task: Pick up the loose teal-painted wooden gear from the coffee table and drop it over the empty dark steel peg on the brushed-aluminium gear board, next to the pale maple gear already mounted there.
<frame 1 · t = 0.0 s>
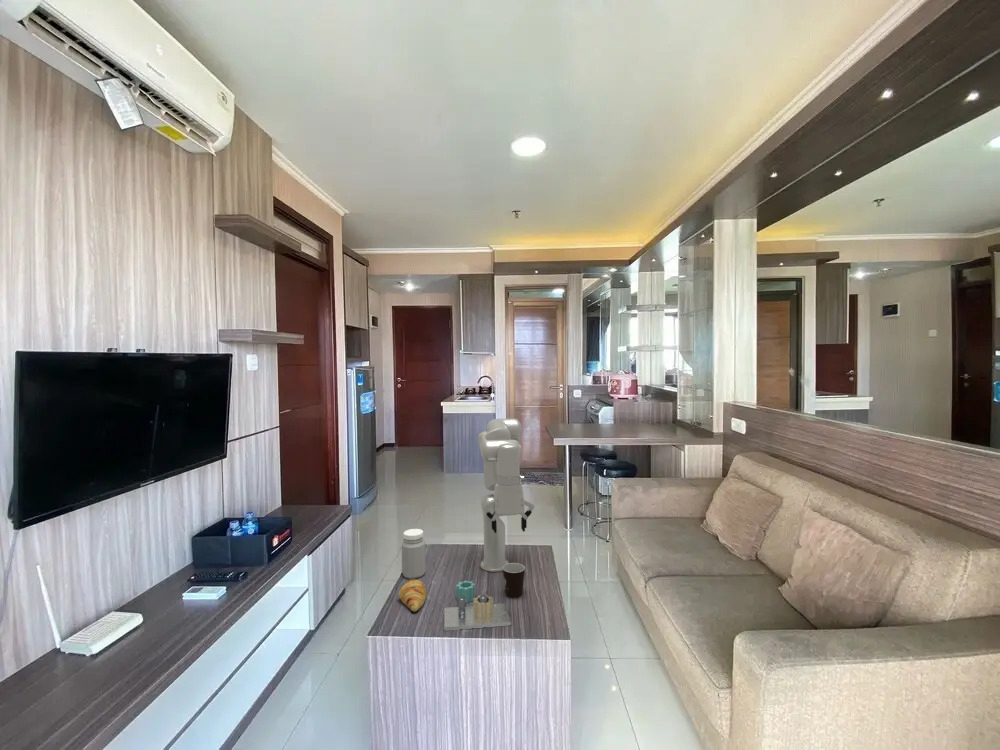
hand: (509, 530, 144), 31 cm above the table, fingers open, 9 cm apart
board: (476, 618, 147), on the table
gear: (465, 598, 161), on the table
croissant: (412, 600, 160), on the table
coffee mug: (514, 592, 165), on the table
jar: (413, 574, 181), on the table
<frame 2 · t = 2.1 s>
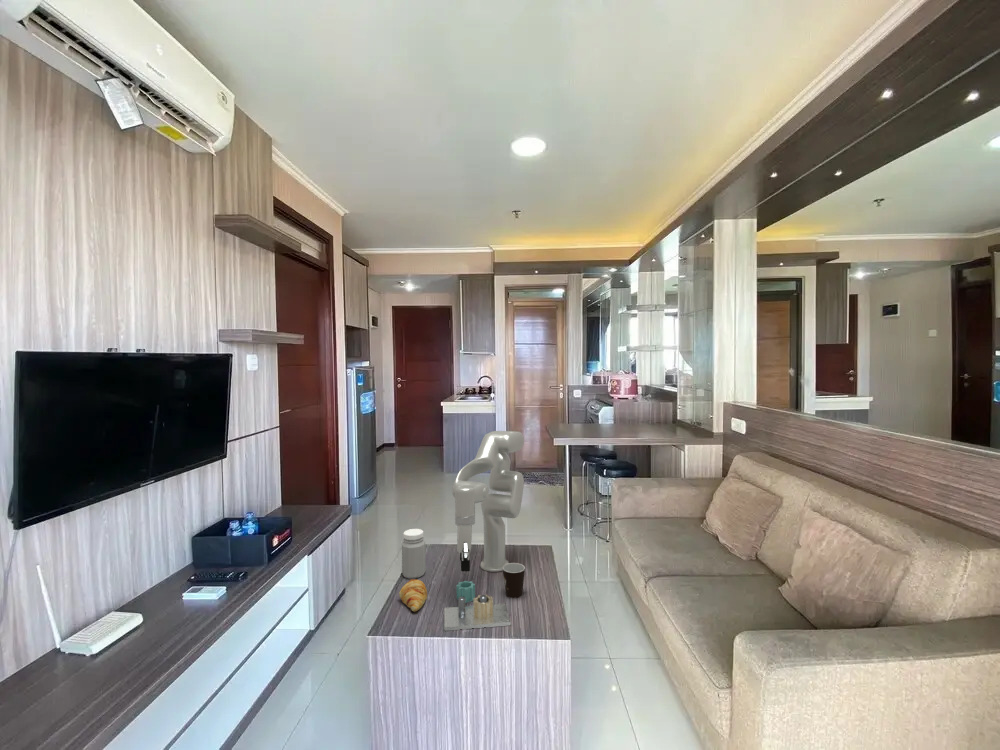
hand: (464, 565, 160), 13 cm above the table, fingers open, 9 cm apart
nothing on the table moved.
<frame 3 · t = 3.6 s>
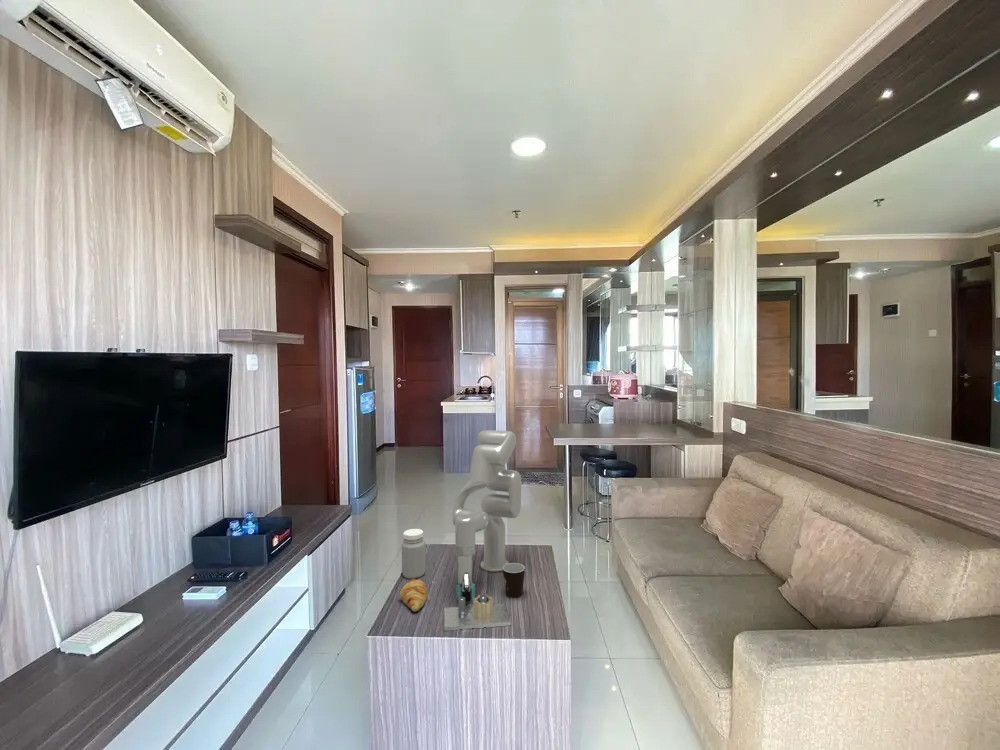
hand: (465, 596, 161), 1 cm above the table, fingers closed on gear, 6 cm apart
gear: (465, 598, 161), on the table, touching gripper
everything else where it was.
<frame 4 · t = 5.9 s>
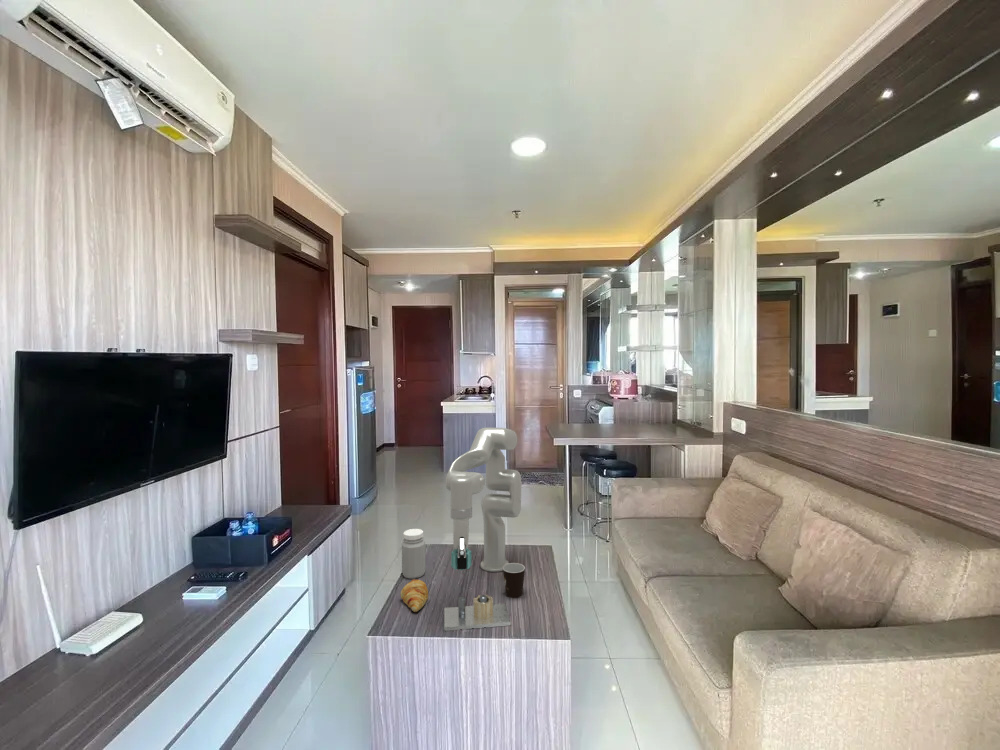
hand: (461, 563, 148), 18 cm above the table, fingers closed on gear, 6 cm apart
gear: (461, 566, 148), point 18 cm above the table, touching gripper
everything else where it was.
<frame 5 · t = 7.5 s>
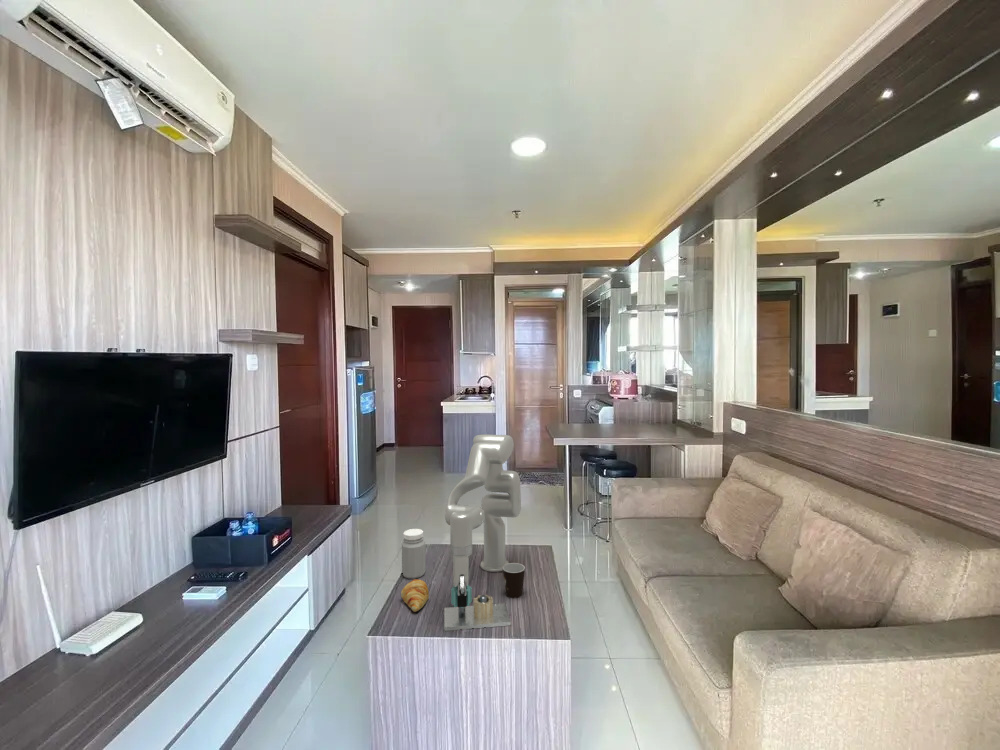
hand: (461, 600, 147), 7 cm above the table, fingers closed on gear, 6 cm apart
gear: (461, 602, 147), point 6 cm above the table, touching gripper
everything else where it was.
when the fingers open (4 cm above the table, at t = 8.5 s): gear drops 2 cm, resting on board.
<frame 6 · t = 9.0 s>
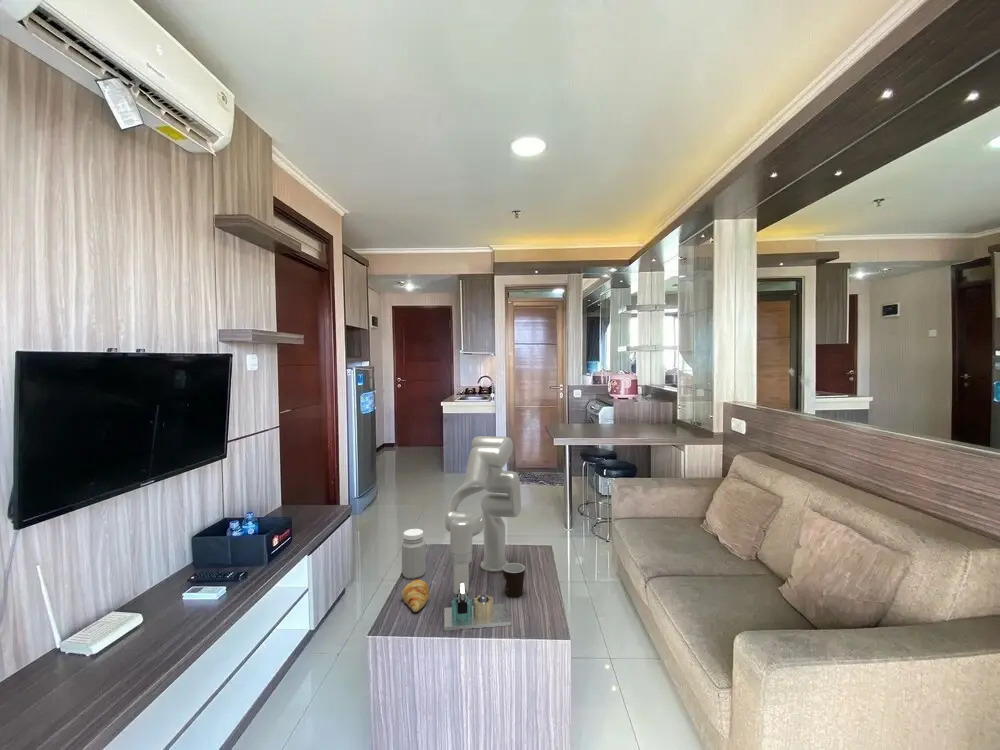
hand: (461, 605, 147), 5 cm above the table, fingers open, 9 cm apart
gear: (461, 615, 147), point 1 cm above the table, touching board
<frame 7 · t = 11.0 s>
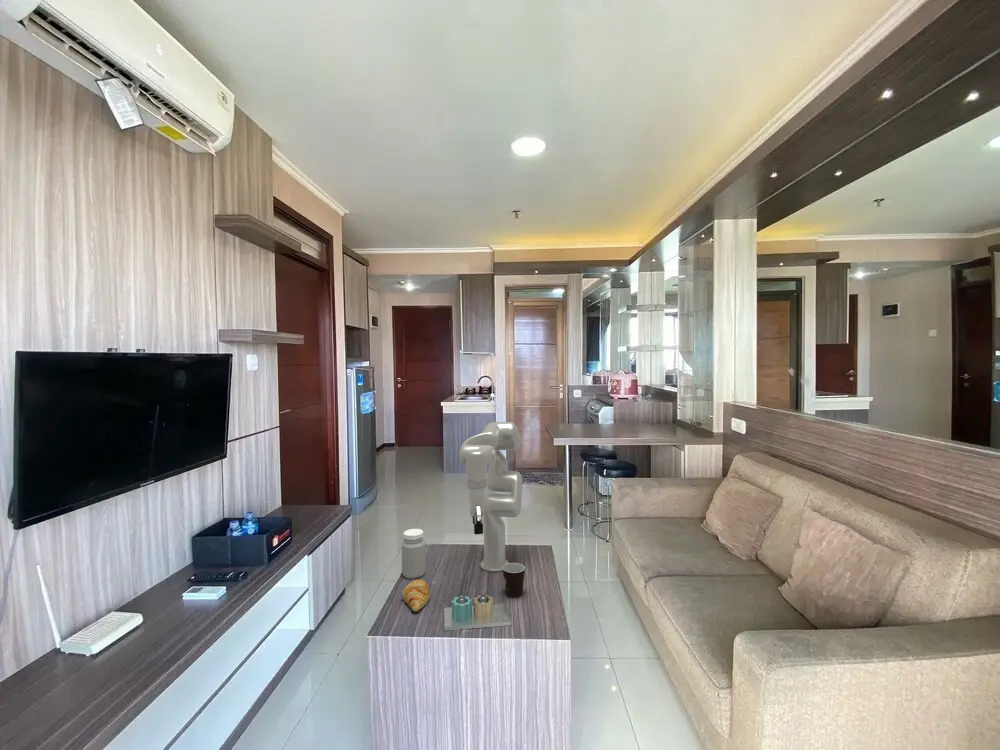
hand: (477, 528, 159), 27 cm above the table, fingers open, 9 cm apart
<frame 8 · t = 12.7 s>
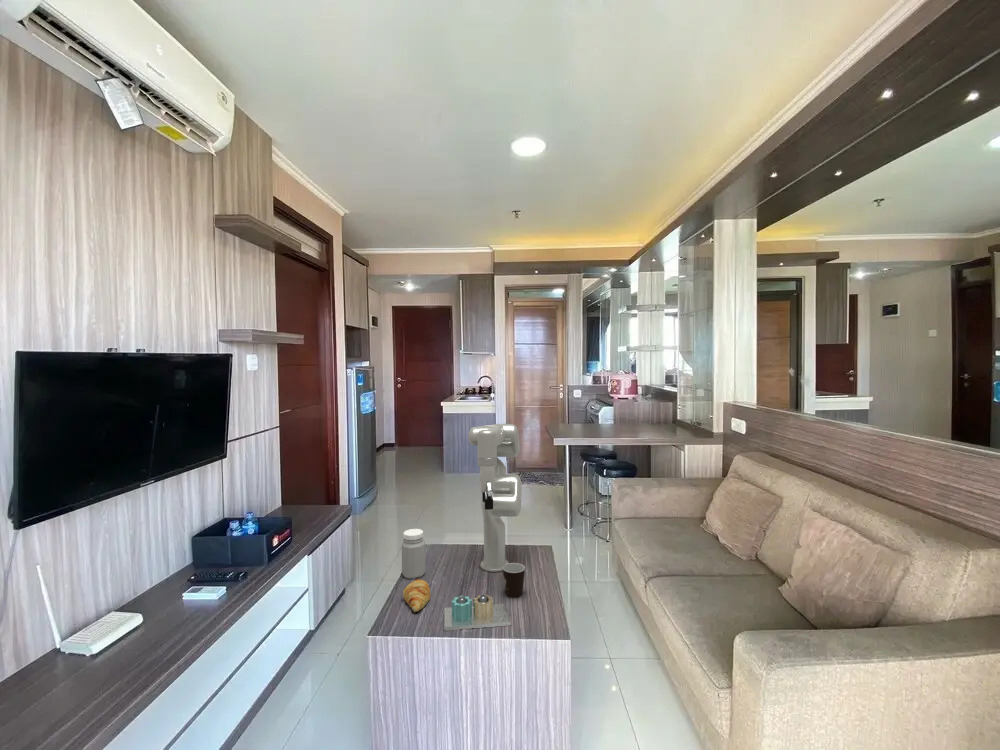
hand: (487, 505, 166), 33 cm above the table, fingers open, 9 cm apart
at the end: gear 0.4 cm from the target spot on the board, point 1.2 cm above the board's base; gear tilted 0°; the gripper is holding nothing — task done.
